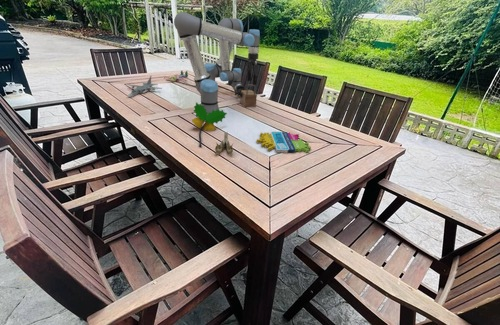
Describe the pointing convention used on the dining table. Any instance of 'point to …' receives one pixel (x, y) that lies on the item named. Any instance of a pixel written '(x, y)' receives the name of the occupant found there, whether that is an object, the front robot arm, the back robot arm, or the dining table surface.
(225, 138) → the jawbone
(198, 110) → the ornament
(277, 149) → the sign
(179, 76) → the toy
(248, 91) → the brown piece
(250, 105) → the chest
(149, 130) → the dining table surface
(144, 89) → the airplane
